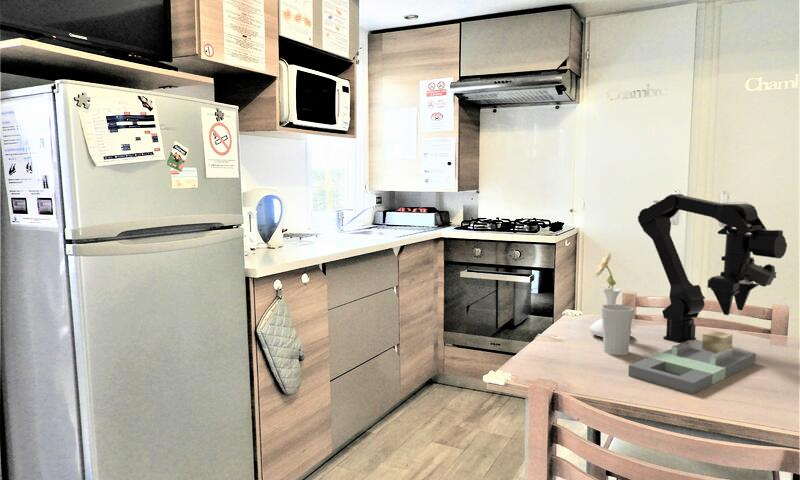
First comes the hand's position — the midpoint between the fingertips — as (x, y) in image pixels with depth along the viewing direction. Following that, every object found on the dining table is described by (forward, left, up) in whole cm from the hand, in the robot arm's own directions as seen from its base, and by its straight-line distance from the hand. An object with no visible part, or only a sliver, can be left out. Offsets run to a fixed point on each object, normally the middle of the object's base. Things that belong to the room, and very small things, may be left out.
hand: (733, 312), depth 153 cm
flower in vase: (-29, -11, -11) cm, 33 cm away
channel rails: (0, -16, -8) cm, 18 cm away
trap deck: (0, -20, -11) cm, 23 cm away
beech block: (0, -8, -8) cm, 12 cm away
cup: (-20, -22, -11) cm, 32 cm away
